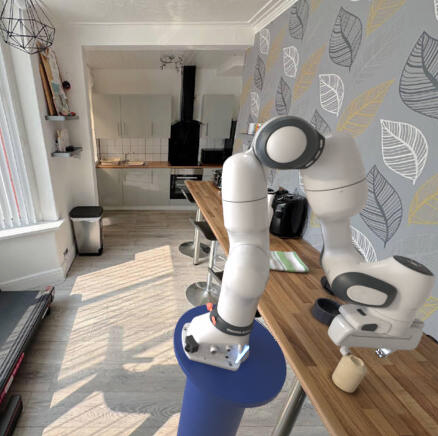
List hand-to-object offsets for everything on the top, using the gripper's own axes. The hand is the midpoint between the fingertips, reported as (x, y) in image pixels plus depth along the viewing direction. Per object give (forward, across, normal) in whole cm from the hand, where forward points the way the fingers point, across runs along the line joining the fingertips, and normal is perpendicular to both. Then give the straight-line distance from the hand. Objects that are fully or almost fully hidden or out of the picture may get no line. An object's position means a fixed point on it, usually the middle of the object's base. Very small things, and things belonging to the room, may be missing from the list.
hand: (362, 355), depth 64 cm
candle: (+12, +1, 0) cm, 13 cm away
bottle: (+12, -8, -88) cm, 89 cm away
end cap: (+13, -25, -43) cm, 52 cm away
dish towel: (+12, -9, -63) cm, 65 cm away
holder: (+12, -11, -26) cm, 31 cm away
